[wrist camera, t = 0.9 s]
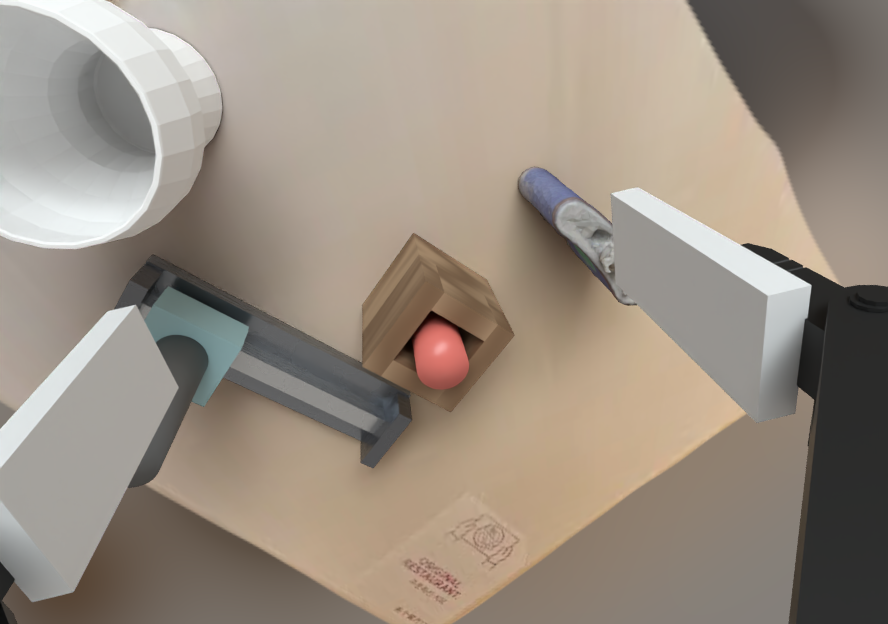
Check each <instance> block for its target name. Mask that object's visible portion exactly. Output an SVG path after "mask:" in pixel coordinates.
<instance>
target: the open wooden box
mask: <svg viewBox="0 0 888 624" xmlns="http://www.w3.org/2000/svg"><path fill="white" fill-rule="evenodd" d="M430 311H434V312H435V313H437V314H439V315H441V316H442V317H444V318H446V319H447V320H449V321H451V322H452V323H454V324H456V325H457V326H458V329H459V332H460V336H461V339H462V342H463V345H464V348H465V351H466V354H467V357H468V361H469V370H468V373H467V375H466V377H465V378H464V380H463V381H462V382H460V383H459V384H458V385H456V386H454V387H452V388H449V389H443V390H439V389H433V388H430V387H428V386H426V385H425V384H424V383H422V381H421V380H420V379H419V377H418V374H417V369H416V363H415V357H414V350H413V344H412V338H411V336H412V335H413V333H414V332H415V331H416V329H417V328H418V327H419V326H420V324H421V323H422V322H423V320H424V319H425V318H426V316H427V315H428V314H429V312H430ZM513 337H514V333H513V331H512V329H511V327H510V325H509V323H508V321H507V319H506V317H505V315H504V313H503V311H502V309H501V307H500V305H499V303H498V301H497V299H496V297H495V295H494V293H493V291H492V289H491V287H490V285H489V283H488V281H487V280H486V279H485V278H483V277H481V276H480V275H478V274H477V273H475V272H474V271H472V270H471V269H469V268H467V267H466V266H464V265H463V264H461V263H460V262H458V261H457V260H455V259H453V258H452V257H450V256H449V255H447V254H446V253H444V252H443V251H441V250H439V249H438V248H436V247H435V246H433V245H432V244H430V243H428V242H427V241H425V240H424V239H422V238H421V237H419V236H418V235H416V234H414V233H413V234H412V236H411V237H410V238H409V240H408V241H407V243H406V244H405V246H404V247H403V248H402V250H401V251H400V253H399V254H398V255H397V257H396V258H395V260H394V261H393V263H392V264H391V265H390V267H389V268H388V270H387V271H386V272H385V274H384V275H383V277H382V278H381V280H380V281H379V282H378V284H377V285H376V287H375V288H374V289H373V291H372V292H371V294H370V295H369V297H368V298H367V299H366V301H365V302H364V304H363V325H362V367H364V368H366V369H368V370H370V371H372V372H374V373H376V374H378V375H380V376H382V377H384V378H386V379H387V380H389V381H391V382H393V383H395V384H397V385H399V386H401V387H403V388H405V389H407V390H409V391H411V392H413V393H415V394H416V395H418V396H420V397H422V398H424V399H426V400H428V401H430V402H432V403H434V404H436V405H438V406H440V407H442V408H444V409H445V410H447V411H449V412H451V411H452V410H453V409H454V408H455V407H456V405H457V404H458V403H459V402H460V401H461V399H462V398H463V397H464V396H465V394H466V393H467V392H468V391H469V390H470V388H471V387H472V386H473V385H474V384H475V382H476V381H477V380H478V379H479V378H480V376H481V375H482V374H483V373H484V372H485V370H486V369H487V368H488V367H489V366H490V364H491V363H492V362H493V361H494V360H495V358H496V357H497V356H498V355H499V354H500V352H501V351H502V350H503V349H504V348H505V346H506V345H507V344H508V343H509V341H510V340H511V339H512V338H513Z"/></svg>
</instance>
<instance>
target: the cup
mask: <svg viewBox="0 0 888 624" xmlns="http://www.w3.org/2000/svg"><path fill="white" fill-rule="evenodd" d="M221 115H222V99H221V91H220V88H219V86H218V83H217V80H216V77H215V75H214V73H213V71H212V70H211V68H210V67H209V65H208V64H207V62H206V61H205V59H204V58H203V57H202V56H201V55H200V54H199V53H198V52H197V51H196V50H195V49H194V48H193V47H192V46H191V45H190V44H188V43H186V42H185V41H183V40H182V39H180V38H178V37H177V36H175V35H173V34H170V33H167V32H164V31H161V30H158V29H153V28H148V27H147V26H146V25H145V24H144V23H143V22H141V21H140V20H138V19H136V18H135V17H133V16H132V15H130V14H128V13H127V12H125V11H124V10H122V9H120V8H119V7H117V6H116V5H114V4H112V3H111V2H108V1H105V0H0V235H1V236H3V237H5V238H7V239H10V240H12V241H15V242H19V243H24V244H28V245H32V246H36V247H41V248H45V249H81V248H86V247H90V246H95V245H99V244H103V243H108V242H112V241H116V240H120V239H124V238H128V237H132V236H135V235H137V234H139V233H141V232H142V231H144V230H146V229H148V228H150V227H152V226H153V225H155V224H157V223H159V222H160V221H161V220H162V219H163V218H164V217H165V216H166V215H167V214H168V213H169V212H170V211H171V210H172V209H173V208H174V207H175V206H176V205H177V204H178V203H179V202H180V201H181V200H182V199H183V198H184V197H185V196H186V195H187V194H188V193H189V192H190V190H191V188H192V186H193V184H194V181H195V179H196V177H197V175H198V173H199V171H200V169H201V165H202V159H203V153H204V147H205V146H206V145H207V144H208V143H209V142H210V141H211V140H212V139H213V138H214V135H215V133H216V131H217V129H218V127H219V125H220V121H221Z"/></svg>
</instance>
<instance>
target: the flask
mask: <svg viewBox="0 0 888 624" xmlns="http://www.w3.org/2000/svg"><path fill="white" fill-rule="evenodd" d="M518 188H519V190H520V192H521V194H522V195H523V196H524V197H525V199H526V200H527V201H528V202H530V203H531V204H532V205H533V206H534V207H535V208H536V209H537V210H538V211H539V212H540V214H541V215H542V216H543V217H544V220H546V221H547V222H548V223H549V224H551V225H552V226H553V227H554V229H555V230H556V231H557V233H558V234H560V235H561V236H563V237H564V238H565V239H566V240H567V245H569V246H570V247H571V249H572V250H573V251H574V252H575V254H576V255H577V256H578V257H579V258H580V259H581V260H582V261H583V262H584V263H585V264H586V265H587V267H588V268H589V269H590V270H591V271H592V273H593V274H594V275H595V276H596V277H597V278H598V279H599V280H600V281H601V282H602V283H603V284H604V285H605V286H606V287H607V288H608V289H609V290H610V291H611V292H612V294H613V295H614V297H615V298H616V299H617V300H618V302H620V303H622V304H624V305H637V304H636V303H635V302H634V301H633V300H632V299H631V298H630V297H629V296H628V295H627V294H626V293H625V292H624V291H623V290H622V289H621V288H620V287H619V286H618V285H617V284H616V280H615V262H614V244H613V226H612V223H611V222H610V221H609V220H608V219H607V218H606V217H605V216H603V215H602V214H601V213H600V212H599V211H597V210H596V209H595V208H594V207H593V206H591V205H590V204H588V203H587V202H586V201H584V200H583V199H582V198H580V197H579V196H578V195H577V194H575V193H574V192H573V191H572V190H570V189H569V188H567V187H566V186H565V185H564V184H563V183H561V182H560V181H559V180H558V179H557V178H556V177H555V176H553V175H552V174H551V173H549V172H548V171H547V170H545V169H542V168H539V167H532V168H529V169H527V170H525V171H524V172H523V173H522V174H521V176H520V177H519V179H518Z"/></svg>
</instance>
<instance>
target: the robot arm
mask: <svg viewBox="0 0 888 624" xmlns="http://www.w3.org/2000/svg"><path fill="white" fill-rule="evenodd" d="M611 208H612V226H613V244H614V262H615V280H616V284H617V285H618V286H619V287H620V288H621V289H622V290H623V291H624V292H625V293H626V294H627V295H628V296H629V297H630V298H631V299H632V300H633V301H634V302H635V303H636V304H637V305H638V306H639V307H640V308H641V309H642V310H643V311H644V312H645V313H646V314H647V315H648V316H649V317H650V318H651V319H652V320H653V321H654V322H655V323H656V324H657V325H658V326H659V327H660V328H661V329H662V330H663V331H664V332H665V333H666V334H667V335H668V336H669V337H670V338H671V339H672V340H673V341H674V342H675V343H676V344H677V345H678V346H679V347H680V348H682V349H683V350H684V351H685V352H686V353H687V354H688V355H689V356H690V357H691V358H692V359H693V360H694V361H695V362H696V363H697V364H698V365H699V366H700V367H701V368H702V369H703V370H704V371H705V372H706V373H707V374H708V375H709V376H710V377H711V378H712V379H713V380H714V381H715V382H716V383H717V384H718V385H719V386H720V387H721V388H722V389H723V390H724V391H725V392H726V393H727V394H728V395H729V396H730V397H731V398H732V399H733V400H734V401H735V402H736V403H737V404H738V405H739V406H740V407H741V408H742V409H743V410H744V411H745V412H746V413H747V414H748V415H749V416H750V417H751V418H752V419H753V420H754V421H755V422H756V423H759V422H763V421H766V420H771V419H775V418H779V417H783V416H787V415H791V414H795V411H796V403H797V395H798V387H799V388H801V389H802V390H803V391H804V392H806V393H807V394H808V395H809V396H811V397H812V398H813V399H814V406H813V414H812V420H811V426H810V433H809V440H808V446H809V447H808V456H807V465H806V474H805V483H804V492H803V501H802V509H801V519H800V527H799V536H798V545H797V554H796V563H795V572H794V580H793V589H792V598H791V607H790V616H789V624H888V287H885V286H878V285H857V286H851V287H845V288H844V287H842V286H840V285H839V284H837V283H835V282H833V281H831V280H829V279H827V278H825V277H823V276H822V275H820V274H818V273H816V272H814V271H812V270H810V269H808V268H803V265H801V264H799V263H797V262H795V261H793V260H789V258H788V257H786V256H784V255H782V254H780V253H778V252H776V251H774V250H773V249H770V248H766V247H761V246H757V245H753V244H749V243H747V244H743V245H739V244H738V243H736V242H734V241H732V240H730V239H729V238H727V237H725V236H723V235H722V234H720V233H718V232H716V231H715V230H713V229H711V228H709V227H707V226H706V225H704V224H702V223H700V222H699V221H697V220H695V219H693V218H691V217H690V216H688V215H686V214H684V213H683V212H681V211H679V210H677V209H675V208H674V207H672V206H670V205H668V204H667V203H665V202H663V201H661V200H659V199H658V198H656V197H654V196H652V195H651V194H649V193H647V192H645V191H644V190H642V189H640V188H638V187H637V188H632V189H628V190H624V191H619V192H615V193H611ZM178 388H179V387H178V385H177V383H176V381H175V379H174V377H173V375H172V374H171V372H170V370H169V368H168V366H167V364H166V362H165V360H164V358H163V356H162V354H161V352H160V350H159V348H158V346H157V345H156V343H155V341H154V339H153V337H152V335H151V333H150V331H149V329H148V327H147V325H146V323H145V321H144V319H143V317H142V316H141V314H140V312H139V310H138V308H137V306H136V305H132V306H128V307H124V308H120V309H115V310H111V311H107V312H106V314H105V315H104V316H103V317H102V318H101V319H100V320H99V321H98V322H97V323H96V325H95V326H94V327H93V328H92V329H91V330H90V331H89V332H88V333H87V334H86V336H85V337H84V338H83V339H82V340H81V341H80V342H79V343H78V344H77V345H76V347H75V348H74V349H73V350H72V351H71V352H70V353H69V354H68V355H67V356H66V357H65V359H64V360H63V361H62V362H61V363H60V364H59V365H58V366H57V367H56V368H55V370H54V371H53V372H52V373H51V374H50V375H49V376H48V377H47V378H46V379H45V381H44V382H43V383H42V384H41V385H40V386H39V387H38V388H37V389H36V390H35V392H34V393H33V394H32V395H31V396H30V397H29V398H28V399H27V400H26V401H25V403H24V404H23V405H22V406H21V407H20V408H19V409H18V410H17V411H16V412H15V414H14V415H13V416H12V417H11V418H10V419H9V420H8V421H7V423H5V425H4V426H3V427H2V428H1V429H0V624H17V621H16V619H15V616H14V614H13V613H12V611H11V610H10V609H9V608H8V607H7V606H6V605H5V604H4V602H3V601H2V599H3V597H4V596H5V595H6V593H7V591H8V590H9V588H10V587H11V585H12V584H13V582H15V583H16V584H17V585H18V586H19V588H20V589H21V590H22V591H23V592H24V593H25V595H26V596H27V597H28V598H29V599H30V600H31V601H32V602H35V601H39V600H43V599H47V598H51V597H55V596H59V595H63V594H67V593H72V592H74V590H75V588H76V586H77V584H78V582H79V580H80V578H81V576H82V575H83V573H84V571H85V569H86V567H87V565H88V563H89V561H90V559H91V557H92V555H93V553H94V551H95V549H96V547H97V545H98V543H99V542H100V540H101V538H102V536H103V534H104V532H105V530H106V527H107V526H108V524H109V522H110V520H111V518H112V516H113V514H114V512H115V510H116V509H117V506H118V504H119V503H120V501H121V499H122V497H123V495H124V493H125V491H126V489H127V487H128V485H129V483H130V481H131V479H132V477H133V475H134V474H135V472H136V470H137V468H138V466H139V464H140V462H141V460H142V458H143V456H144V454H145V452H146V450H147V448H148V446H149V444H150V442H151V441H152V439H153V437H154V435H155V433H156V431H157V429H158V427H159V425H160V423H161V421H162V419H163V417H164V415H165V413H166V411H167V409H168V408H169V406H170V404H171V402H172V400H173V398H174V396H175V394H176V392H177V390H178Z"/></svg>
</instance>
